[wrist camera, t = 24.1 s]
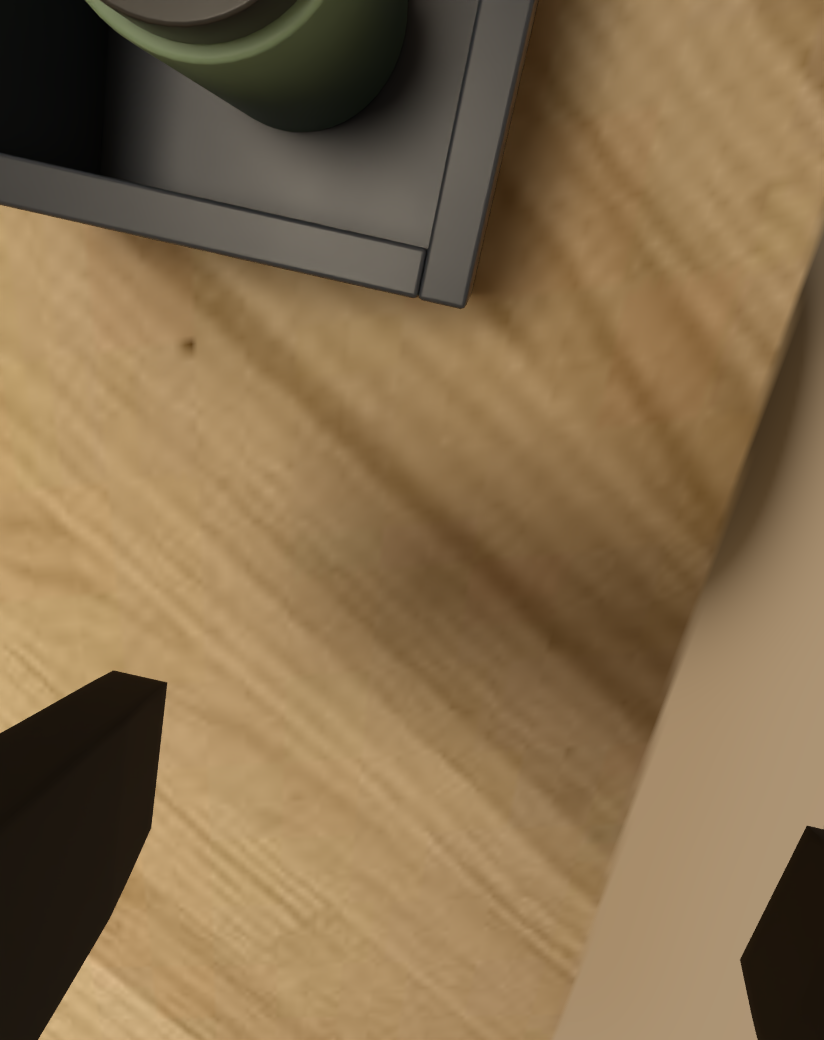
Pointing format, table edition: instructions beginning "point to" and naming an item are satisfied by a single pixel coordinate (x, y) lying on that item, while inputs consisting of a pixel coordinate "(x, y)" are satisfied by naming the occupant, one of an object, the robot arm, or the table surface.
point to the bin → (269, 149)
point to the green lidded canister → (272, 51)
